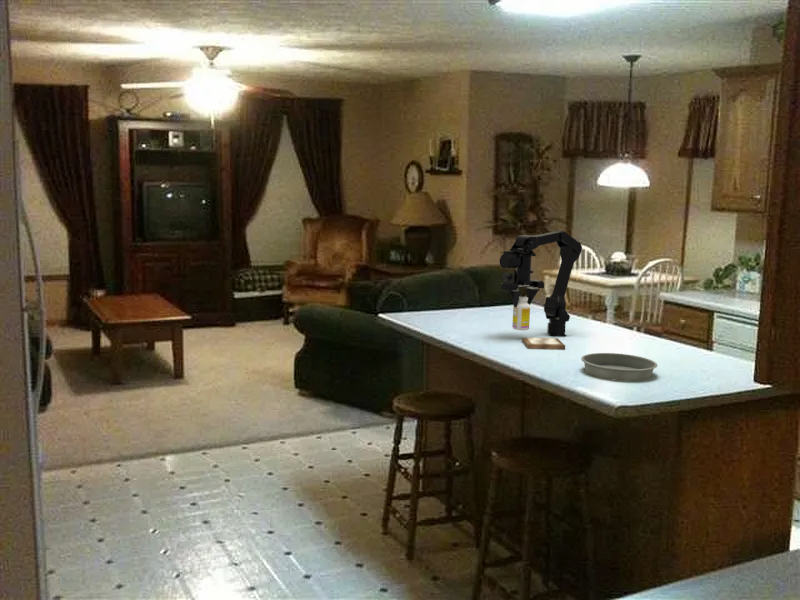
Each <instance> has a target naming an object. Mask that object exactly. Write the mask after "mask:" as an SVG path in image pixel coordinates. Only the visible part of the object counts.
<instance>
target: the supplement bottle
mask: <svg viewBox="0 0 800 600" xmlns="http://www.w3.org/2000/svg"><path fill="white" fill-rule="evenodd" d="M527 301H528V297H527V296H519V300H518V305H517V307H514V305H513V304H512V305H513V306H512V307H513V308H512V326H511V328H512V330H517V331H526V330H527V331H528V330H529V329H530V319H531V318H530V315H531V304H530V305H529V304H528V303H527Z"/></svg>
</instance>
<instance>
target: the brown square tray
mask: <svg viewBox="0 0 800 600" xmlns="http://www.w3.org/2000/svg"><path fill="white" fill-rule="evenodd" d="M521 342H522V343H523V345H524V346H525V347H526V348H527V350H555V349H556V350H561V351H563V350H566V344H564V343H563V342H562V341H561V340H560V339H559V338H557V337H556V338H555V337H521Z"/></svg>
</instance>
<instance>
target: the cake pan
mask: <svg viewBox="0 0 800 600" xmlns="http://www.w3.org/2000/svg"><path fill="white" fill-rule="evenodd" d="M580 359H581V361H582V362H583V364H584V371H585V372H586V373H587V374H588V373H589V375H590V374H591V375H590V376H593V375H594V377H596V376H597V377H596V378H600V377H601V378H600V379H605V378H607V379H606V380H611V379H615V380H614V381H621V380H630V381H631V380H632V381H631V382H633V381H634V382H636V381H637V382H638V381H645V380H648V378H649V379H650V378H652V375H653V371H654V369H656V368H657V367H658V363H657V362H656V361H654V360H652V359H649V358H646V357H643V356H639V355H633V354H627V353H614V352H613V353H612V352H598V353H597V352H596V353H588V354H585V355H583V356H581V358H580ZM644 379H645V380H644ZM630 381H629V382H630Z"/></svg>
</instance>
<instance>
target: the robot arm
mask: <svg viewBox="0 0 800 600" xmlns="http://www.w3.org/2000/svg"><path fill="white" fill-rule="evenodd" d="M552 243H553V244H554V243H556V245H557V247H558V248H559V256H560V259H561V261H560V265H559V268H558V272H557V277H556V280H555V283H554V287H553V290H552V294H551V295H550V296H546V297H545V301H544V304H543V312H544V313H545V318H546V320H548V322H547V328H546V329H547V330H546V331H547V334H548V335H549V336H551V337H552V336H553V337H566V336H567V334H566V324H567V322H569V321H570V318H571V316H570V314H569V313H568V312H567V311H566V308H567V303H566V299H565V296H566V292H567V289H568V284H569V282H570V277H571V273H572V271H573V267H574V264H575V263H576V261H578V259H579V258H580V256H581V253H582V251H583V246H582V244H581V242H579V241H577V239H575V238H574V237H572V236H571V235H569V234H568V233H567V232H566V231H565V230H558V229H556V230H555V231H550V232H546V233H541V234H536V235H525V234H524V235H523V234H522V235H521V234H520V235H518V236H517V237H516V239H515V241H514V243H513V244H512V246H511V247H510V249H509V251H508V250H503V254H501V255H500V258H499V265H500V267H501V268H502V269H504V270H505V269H514V270H513V273H509V272H503V273H502V281H503V282H501V284H500V290H505V292H508V293H509V295H510V298H511V301H512V305H514V307H517V305H518V300H519V297H521V290H519V288H520V289H521V288H524V290H525V292H526V297H528V301H527V303H528V304H529V305H530V306H531V304H532V302H533V300H534V299H535V297H536V295H537V293H538V292H540V289H545V283H544V281H543V280H538V279H531V278H532V277H531V275H532V274H534V270H532V259H533V257H536V256H537V254H536V253H535V252H534V250H536V249H537V248H538V247H540V246H543V245H548V244H552Z"/></svg>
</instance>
